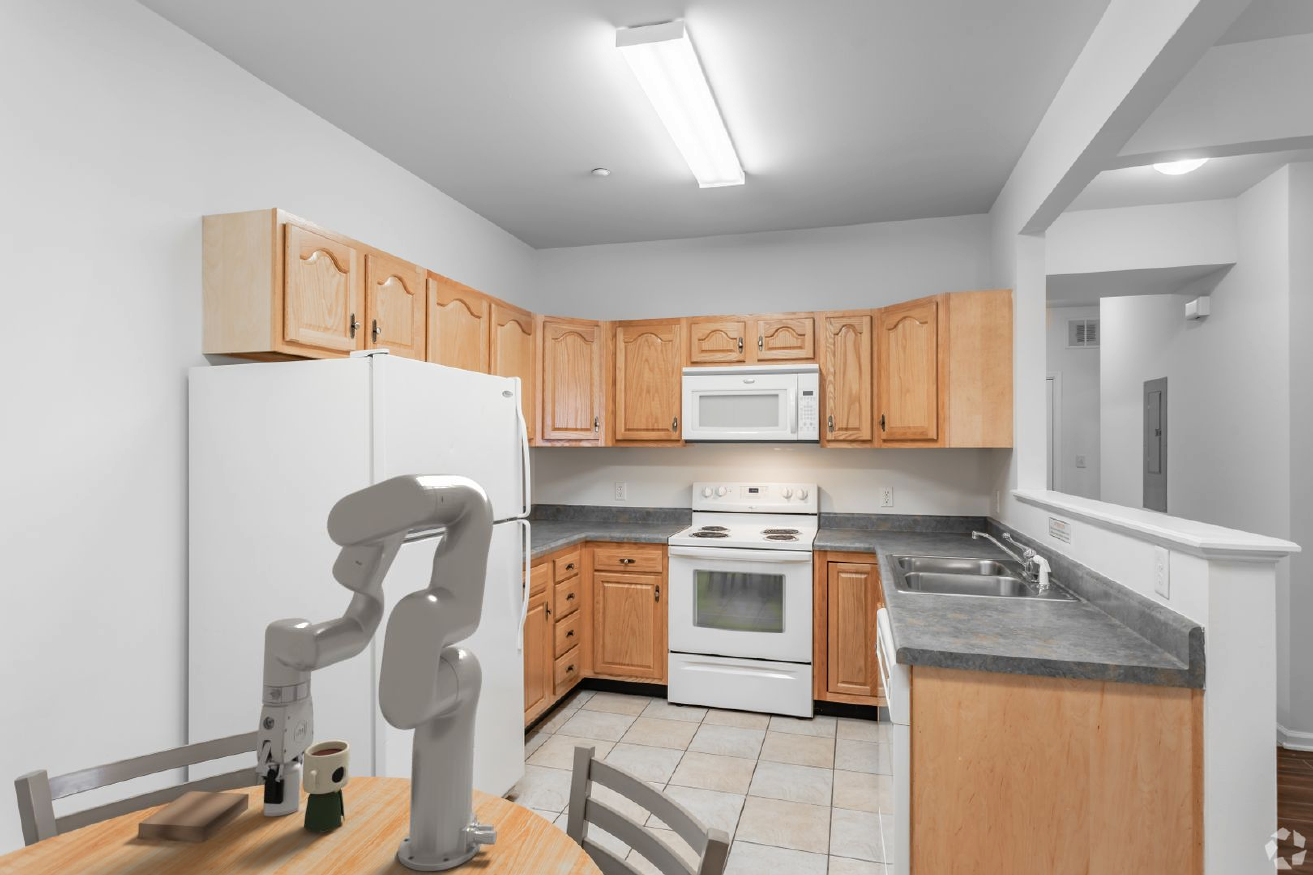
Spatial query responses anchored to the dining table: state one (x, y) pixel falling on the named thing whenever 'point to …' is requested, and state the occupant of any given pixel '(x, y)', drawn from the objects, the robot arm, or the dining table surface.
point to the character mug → (325, 783)
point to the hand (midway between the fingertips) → (282, 794)
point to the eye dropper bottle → (287, 791)
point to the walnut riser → (193, 816)
